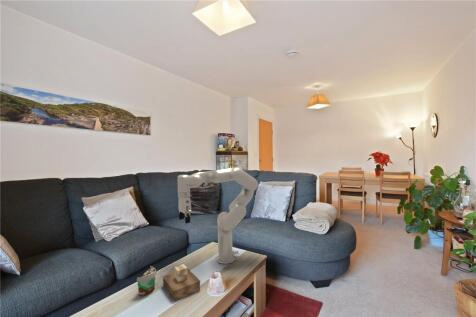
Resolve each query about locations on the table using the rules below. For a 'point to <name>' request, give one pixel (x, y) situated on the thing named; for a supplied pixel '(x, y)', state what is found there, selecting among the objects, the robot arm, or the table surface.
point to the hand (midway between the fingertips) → (184, 221)
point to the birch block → (180, 273)
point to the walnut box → (181, 285)
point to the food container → (147, 282)
